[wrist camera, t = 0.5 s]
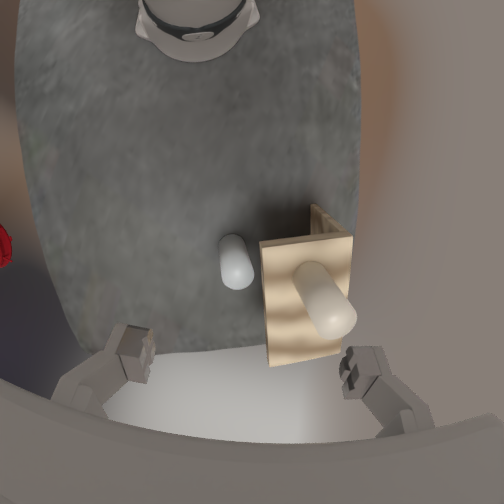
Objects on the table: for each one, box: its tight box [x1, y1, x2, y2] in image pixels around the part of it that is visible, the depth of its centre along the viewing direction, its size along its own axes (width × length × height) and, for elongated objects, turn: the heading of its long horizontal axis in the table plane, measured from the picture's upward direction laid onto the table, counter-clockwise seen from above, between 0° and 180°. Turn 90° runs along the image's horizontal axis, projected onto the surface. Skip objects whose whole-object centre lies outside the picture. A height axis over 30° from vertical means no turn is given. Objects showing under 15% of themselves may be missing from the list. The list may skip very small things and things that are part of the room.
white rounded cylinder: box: [292, 261, 357, 340], centre depth 35 cm, size 5×5×10 cm
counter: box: [259, 204, 353, 367], centre depth 48 cm, size 21×12×14 cm, turn 4°
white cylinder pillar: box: [218, 234, 254, 290], centre depth 47 cm, size 5×5×10 cm
